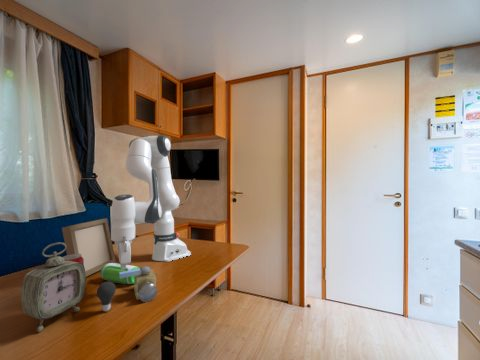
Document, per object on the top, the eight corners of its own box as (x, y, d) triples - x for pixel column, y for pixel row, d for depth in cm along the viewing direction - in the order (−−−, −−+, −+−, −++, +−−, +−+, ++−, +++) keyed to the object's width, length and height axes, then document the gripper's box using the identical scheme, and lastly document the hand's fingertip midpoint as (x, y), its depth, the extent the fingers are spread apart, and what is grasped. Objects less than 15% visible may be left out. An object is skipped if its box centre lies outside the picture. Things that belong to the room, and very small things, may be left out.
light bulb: (102, 306, 80) (102, 279, 80) (118, 306, 80) (118, 278, 80) (93, 316, 74) (93, 286, 74) (110, 315, 75) (110, 285, 75)
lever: (148, 270, 92) (148, 265, 92) (150, 273, 89) (150, 268, 89) (119, 276, 86) (119, 271, 86) (119, 279, 83) (119, 274, 83)
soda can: (64, 300, 84) (64, 261, 84) (55, 295, 88) (55, 257, 88) (87, 291, 91) (87, 255, 91) (78, 287, 95) (78, 252, 95)
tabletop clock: (36, 337, 64) (36, 251, 64) (17, 330, 67) (17, 247, 68) (85, 310, 78) (85, 238, 78) (68, 305, 81) (68, 236, 81)
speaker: (142, 280, 101) (142, 264, 101) (130, 288, 94) (130, 270, 94) (113, 275, 107) (113, 260, 107) (99, 282, 100) (99, 265, 100)
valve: (150, 284, 97) (150, 265, 97) (158, 299, 85) (157, 278, 85) (133, 288, 93) (133, 269, 93) (138, 304, 81) (138, 282, 81)
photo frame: (115, 264, 121) (115, 218, 121) (79, 281, 100) (79, 226, 100) (92, 262, 124) (92, 217, 124) (53, 279, 103) (53, 225, 103)
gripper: (135, 239, 84) (134, 275, 84) (129, 229, 101) (129, 259, 101) (116, 241, 81) (115, 279, 80) (113, 230, 98) (113, 262, 98)
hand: (123, 268), depth 91 cm, fingers closed
